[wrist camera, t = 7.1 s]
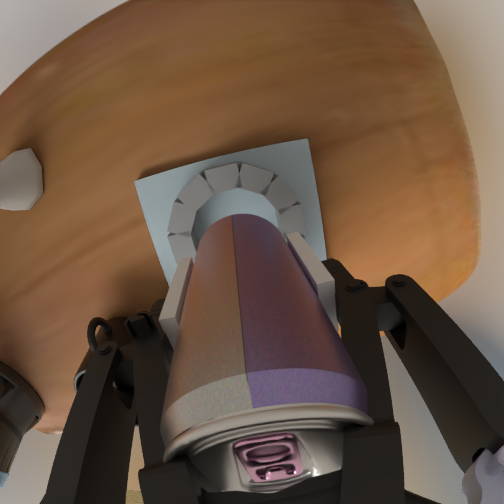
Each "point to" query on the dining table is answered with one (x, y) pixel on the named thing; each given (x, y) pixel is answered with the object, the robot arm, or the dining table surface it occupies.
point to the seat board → (232, 198)
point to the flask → (20, 180)
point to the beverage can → (257, 367)
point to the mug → (107, 332)
